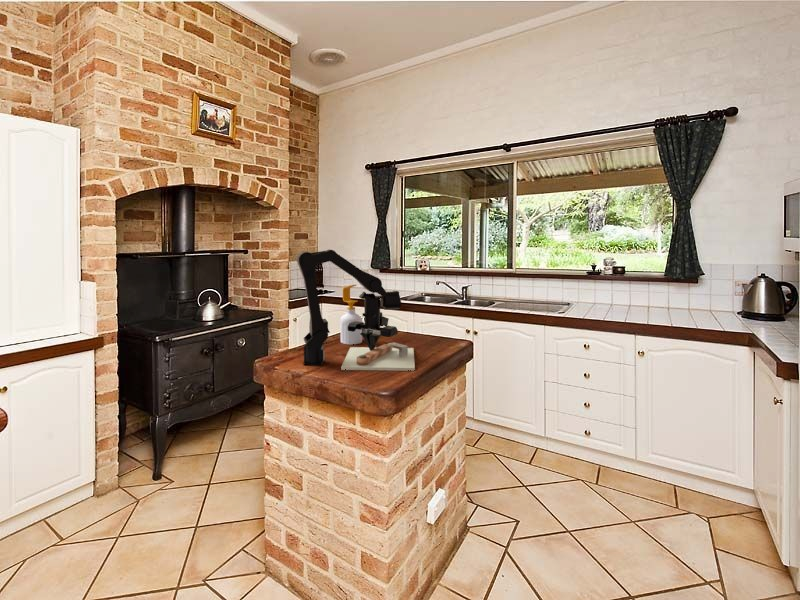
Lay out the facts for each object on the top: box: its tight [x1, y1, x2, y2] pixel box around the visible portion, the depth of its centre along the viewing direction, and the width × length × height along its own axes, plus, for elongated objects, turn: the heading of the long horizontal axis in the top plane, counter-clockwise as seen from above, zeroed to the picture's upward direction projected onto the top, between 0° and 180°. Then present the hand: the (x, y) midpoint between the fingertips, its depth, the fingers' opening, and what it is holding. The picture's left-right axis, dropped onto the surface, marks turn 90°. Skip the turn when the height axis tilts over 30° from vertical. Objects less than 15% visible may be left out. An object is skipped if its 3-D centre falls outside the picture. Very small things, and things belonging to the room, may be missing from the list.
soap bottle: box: [339, 284, 363, 346], centre depth 189 cm, size 9×9×25 cm
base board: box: [340, 346, 416, 372], centre depth 166 cm, size 25×26×1 cm
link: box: [357, 343, 393, 365], centre depth 165 cm, size 22×4×2 cm, turn 155°
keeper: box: [387, 341, 409, 357], centre depth 168 cm, size 3×8×5 cm, turn 44°
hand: (372, 351), depth 168 cm, fingers closed
